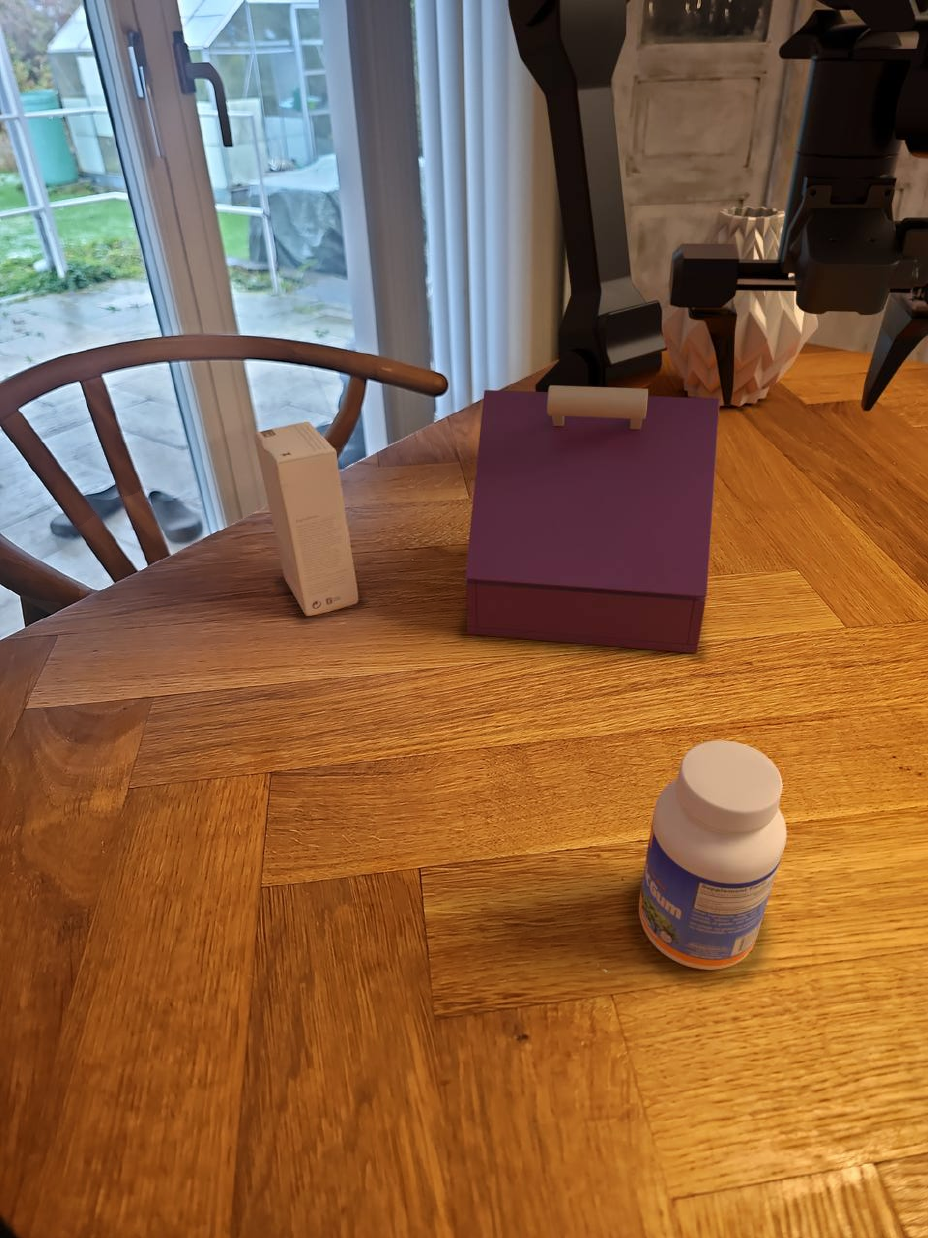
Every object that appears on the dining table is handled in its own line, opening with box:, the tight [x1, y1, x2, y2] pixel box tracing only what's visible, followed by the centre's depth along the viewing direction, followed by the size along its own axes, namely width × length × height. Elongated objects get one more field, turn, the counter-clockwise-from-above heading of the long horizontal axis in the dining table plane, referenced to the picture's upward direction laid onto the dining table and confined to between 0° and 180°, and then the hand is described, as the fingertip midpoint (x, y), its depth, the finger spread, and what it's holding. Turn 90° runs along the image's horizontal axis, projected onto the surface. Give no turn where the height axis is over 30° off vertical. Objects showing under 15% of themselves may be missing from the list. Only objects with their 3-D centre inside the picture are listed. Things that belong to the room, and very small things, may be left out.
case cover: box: [464, 385, 720, 599], centre depth 53 cm, size 13×15×5 cm
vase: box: [660, 205, 819, 407], centre depth 88 cm, size 16×16×18 cm
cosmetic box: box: [253, 421, 359, 617], centre depth 60 cm, size 6×4×12 cm
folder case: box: [465, 580, 706, 654], centre depth 61 cm, size 12×15×4 cm
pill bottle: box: [638, 739, 788, 971], centre depth 37 cm, size 5×5×10 cm
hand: (794, 406), depth 59 cm, fingers open, 9 cm apart
